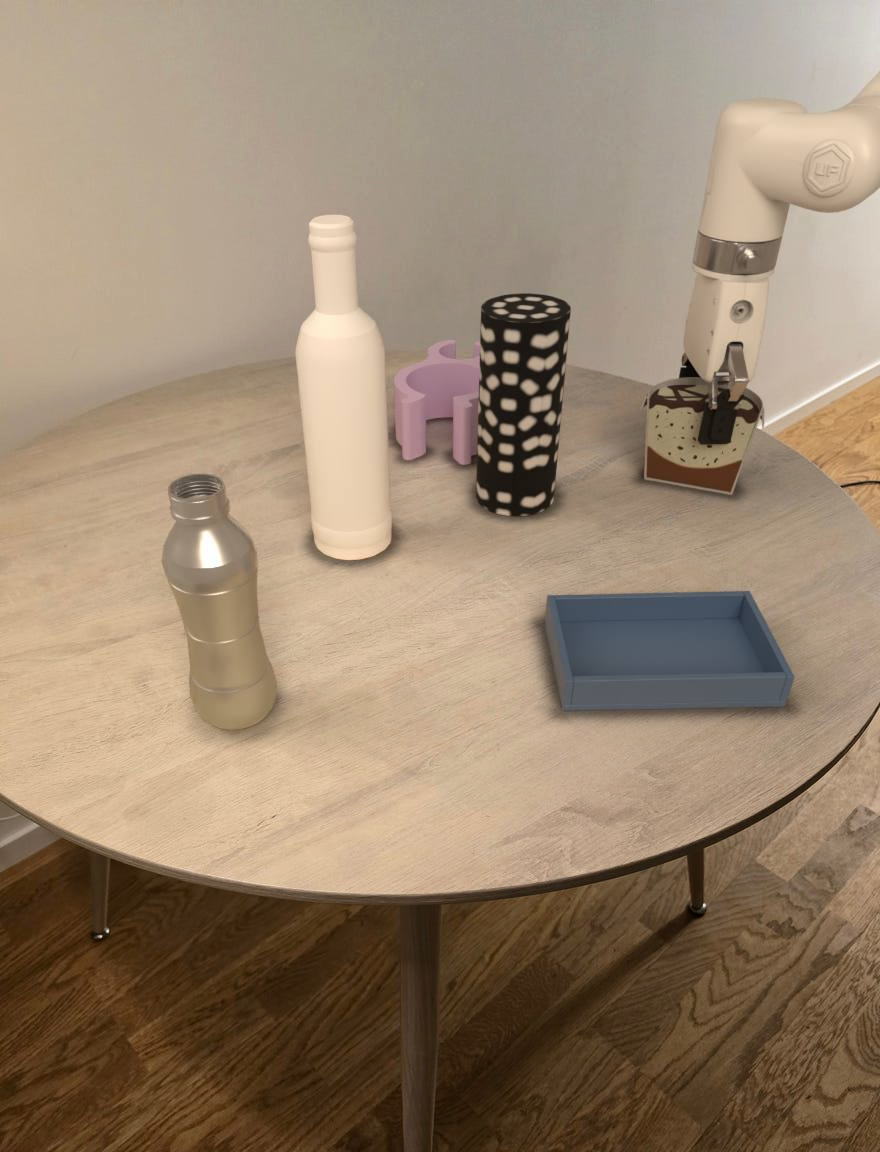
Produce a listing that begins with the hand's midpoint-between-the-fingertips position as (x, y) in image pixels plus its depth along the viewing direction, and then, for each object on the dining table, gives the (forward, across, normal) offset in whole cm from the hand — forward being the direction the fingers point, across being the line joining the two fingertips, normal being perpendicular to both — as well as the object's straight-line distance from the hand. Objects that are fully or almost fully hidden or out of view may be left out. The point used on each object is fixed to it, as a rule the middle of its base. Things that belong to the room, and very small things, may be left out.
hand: (700, 422), depth 95 cm
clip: (+7, +14, +26) cm, 30 cm away
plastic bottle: (+6, -37, +45) cm, 59 cm away
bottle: (+6, -12, +37) cm, 39 cm away
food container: (+6, 0, 0) cm, 6 cm away
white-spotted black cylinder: (+6, -4, +20) cm, 21 cm away
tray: (+6, -32, +11) cm, 34 cm away
